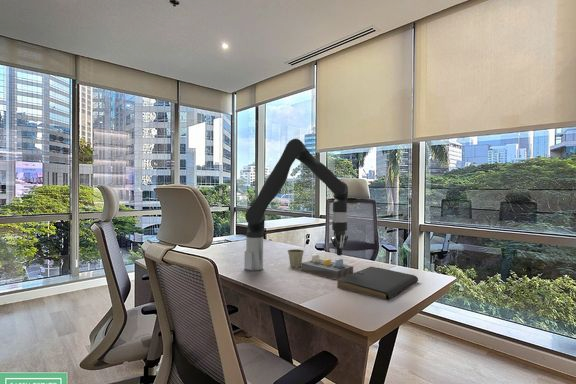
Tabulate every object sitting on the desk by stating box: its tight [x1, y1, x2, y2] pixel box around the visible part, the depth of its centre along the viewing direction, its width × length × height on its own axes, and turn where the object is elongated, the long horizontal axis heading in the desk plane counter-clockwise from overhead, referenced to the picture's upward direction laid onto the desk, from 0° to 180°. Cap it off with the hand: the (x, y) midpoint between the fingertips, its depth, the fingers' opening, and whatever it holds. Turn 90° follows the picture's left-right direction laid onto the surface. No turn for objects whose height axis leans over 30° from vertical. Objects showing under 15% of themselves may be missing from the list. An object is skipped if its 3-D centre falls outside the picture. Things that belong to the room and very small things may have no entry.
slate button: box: [334, 258, 344, 269], centre depth 152 cm, size 4×4×5 cm
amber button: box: [322, 258, 332, 266], centre depth 157 cm, size 4×4×5 cm
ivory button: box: [311, 253, 320, 264], centre depth 162 cm, size 4×4×5 cm
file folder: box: [336, 266, 419, 301], centre depth 138 cm, size 33×4×24 cm
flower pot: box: [287, 248, 305, 268], centre depth 169 cm, size 9×9×9 cm
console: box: [300, 258, 354, 280], centre depth 157 cm, size 14×23×4 cm, turn 47°
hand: (339, 255), depth 152 cm, fingers closed
